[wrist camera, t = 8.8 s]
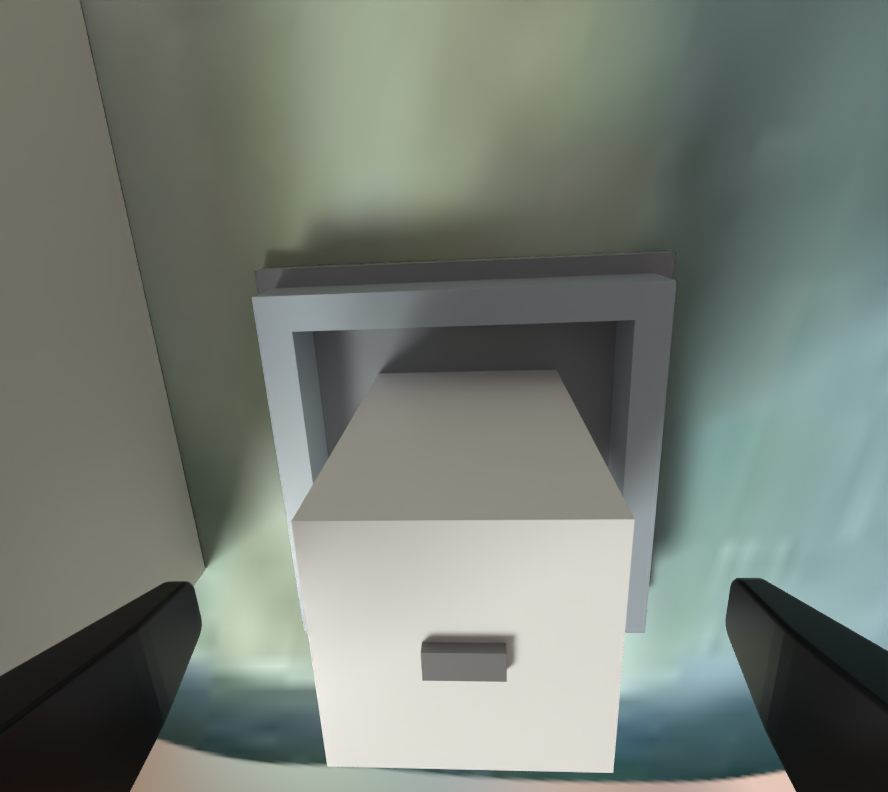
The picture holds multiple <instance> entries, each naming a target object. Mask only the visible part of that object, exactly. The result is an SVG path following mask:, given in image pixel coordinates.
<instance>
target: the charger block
mask: <svg viewBox="0 0 888 792" xmlns="http://www.w3.org/2000/svg"><path fill="white" fill-rule="evenodd" d="M634 521H635V519H634V517H633V515H632V513H631V511H630V509H629V508H628V506H627V504H626V502H625V500H624V498H623V496H622V494H621V492H620V490H619V488H618V487H617V485H616V483H615V481H614V479H613V477H612V475H611V473H610V471H609V469H608V467H607V466H606V464H605V462H604V460H603V458H602V456H601V454H600V452H599V450H598V448H597V446H596V445H595V443H594V441H593V439H592V437H591V435H590V433H589V431H588V429H587V427H586V425H585V424H584V422H583V420H582V418H581V416H580V414H579V412H578V410H577V408H576V406H575V404H574V403H573V401H572V399H571V397H570V395H569V393H568V391H567V389H566V387H565V385H564V383H563V382H562V380H561V378H560V376H559V374H558V372H557V370H556V369H554V370H509V371H465V372H420V373H378V375H377V377H376V379H375V380H374V382H373V384H372V385H371V387H370V389H369V390H368V392H367V394H366V395H365V397H364V399H363V401H362V402H361V404H360V406H359V407H358V409H357V411H356V412H355V414H354V416H353V417H352V419H351V421H350V423H349V424H348V426H347V428H346V429H345V431H344V433H343V434H342V436H341V438H340V440H339V441H338V443H337V445H336V446H335V448H334V450H333V451H332V453H331V455H330V456H329V458H328V460H327V462H326V463H325V465H324V467H323V468H322V470H321V472H320V473H319V475H318V477H317V478H316V480H315V482H314V484H313V485H312V487H311V489H310V490H309V492H308V494H307V495H306V497H305V499H304V501H303V502H302V504H301V506H300V507H299V509H298V511H297V512H296V514H295V516H294V517H293V519H292V521H291V523H292V530H293V536H294V543H295V550H296V557H297V564H298V570H299V577H300V584H301V591H302V597H303V604H304V611H305V618H306V624H307V631H308V638H309V645H310V652H311V658H312V665H313V672H314V679H315V685H316V692H317V699H318V706H319V713H320V719H321V726H322V733H323V740H324V746H325V753H326V760H327V766H337V767H381V768H424V769H468V770H512V771H556V772H600V773H613V768H614V756H615V744H616V733H617V721H618V709H619V697H620V686H621V674H622V662H623V650H624V639H625V627H626V615H627V603H628V592H629V580H630V568H631V556H632V545H633V533H634Z"/></svg>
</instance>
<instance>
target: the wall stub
mask: <svg viewBox="0 0 888 792" xmlns="http://www.w3.org/2000/svg"><path fill="white" fill-rule="evenodd" d="M204 571H205V566H204V561H203V557H202V552H201V548H200V543H199V539H198V534H197V530H196V525H195V521H194V516H193V512H192V507H191V502H190V498H189V493H188V489H187V484H186V480H185V475H184V471H183V466H182V462H181V457H180V453H179V448H178V444H177V439H176V434H175V430H174V425H173V421H172V416H171V412H170V407H169V403H168V398H167V394H166V389H165V385H164V380H163V376H162V371H161V366H160V362H159V357H158V353H157V348H156V344H155V339H154V335H153V330H152V326H151V321H150V317H149V312H148V308H147V303H146V298H145V294H144V289H143V285H142V280H141V276H140V271H139V267H138V262H137V258H136V253H135V249H134V244H133V240H132V235H131V230H130V226H129V221H128V217H127V212H126V208H125V203H124V199H123V194H122V190H121V185H120V181H119V176H118V172H117V167H116V162H115V158H114V153H113V149H112V144H111V140H110V135H109V131H108V126H107V122H106V117H105V113H104V108H103V104H102V99H101V94H100V90H99V85H98V81H97V76H96V72H95V67H94V63H93V58H92V54H91V49H90V45H89V40H88V36H87V31H86V26H85V22H84V17H83V13H82V8H81V4H80V0H0V676H1V675H3V674H4V673H6V672H8V671H10V670H11V669H13V668H15V667H17V666H18V665H20V664H22V663H24V662H25V661H27V660H29V659H31V658H32V657H34V656H36V655H38V654H39V653H41V652H43V651H45V650H46V649H48V648H50V647H52V646H53V645H55V644H57V643H59V642H61V641H62V640H64V639H66V638H68V637H69V636H71V635H73V634H75V633H76V632H78V631H80V630H82V629H83V628H85V627H87V626H89V625H90V624H92V623H94V622H96V621H97V620H99V619H101V618H103V617H104V616H106V615H108V614H110V613H111V612H113V611H115V610H117V609H118V608H120V607H122V606H124V605H125V604H127V603H129V602H131V601H132V600H134V599H136V598H138V597H139V596H141V595H143V594H145V593H146V592H148V591H150V590H152V589H153V588H155V587H157V586H159V585H160V584H162V583H164V582H167V581H188V582H190V583H191V584H192V585H193V586H194V585H195V583H196V582H197V581H198V579H199V578H200V577H201V575H202V574H203V573H204Z"/></svg>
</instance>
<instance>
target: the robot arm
mask: <svg viewBox="0 0 888 792" xmlns="http://www.w3.org/2000/svg"><path fill="white" fill-rule="evenodd" d="M201 627H202V620H201V615H200V611H199V606H198V602H197V598H196V594H195V589H194V586H193V585H192V584H191V583H190V582H188V581H167V582H164V583H162V584H160V585H159V586H157V587H155V588H153V589H152V590H150V591H148V592H146V593H145V594H143V595H141V596H139V597H138V598H136V599H134V600H132V601H131V602H129V603H127V604H125V605H124V606H122V607H120V608H118V609H117V610H115V611H113V612H111V613H110V614H108V615H106V616H104V617H103V618H101V619H99V620H97V621H96V622H94V623H92V624H90V625H89V626H87V627H85V628H83V629H82V630H80V631H78V632H76V633H75V634H73V635H71V636H69V637H68V638H66V639H64V640H62V641H61V642H59V643H57V644H55V645H53V646H52V647H50V648H48V649H46V650H45V651H43V652H41V653H39V654H38V655H36V656H34V657H32V658H31V659H29V660H27V661H25V662H24V663H22V664H20V665H18V666H17V667H15V668H13V669H11V670H10V671H8V672H6V673H4V674H3V675H1V676H0V792H130V790H131V788H132V787H133V785H134V782H135V781H136V779H137V777H138V775H139V773H140V771H141V769H142V767H143V765H144V763H145V761H146V759H147V757H148V755H149V753H150V751H151V749H152V747H153V745H154V743H155V741H156V739H157V737H158V735H159V733H160V731H161V729H162V727H163V725H164V723H165V721H166V718H167V716H168V714H169V711H170V709H171V707H172V704H173V702H174V699H175V696H176V694H177V691H178V689H179V686H180V684H181V681H182V679H183V676H184V674H185V671H186V669H187V666H188V664H189V661H190V659H191V656H192V654H193V651H194V649H195V646H196V644H197V641H198V638H199V636H200V632H201ZM726 630H727V634H728V637H729V639H730V642H731V644H732V647H733V650H734V652H735V655H736V657H737V660H738V662H739V665H740V668H741V670H742V673H743V675H744V678H745V680H746V683H747V686H748V688H749V691H750V693H751V696H752V698H753V701H754V704H755V706H756V709H757V711H758V714H759V716H760V719H761V721H762V723H763V726H764V728H765V730H766V733H767V735H768V737H769V739H770V741H771V743H772V745H773V747H774V749H775V751H776V753H777V755H778V757H779V759H780V761H781V763H782V765H783V767H784V769H785V771H786V773H787V775H788V777H789V779H790V781H791V783H792V784H793V786H794V788H795V790H796V792H888V651H887V650H885V649H883V648H882V647H880V646H878V645H876V644H875V643H873V642H871V641H870V640H868V639H866V638H864V637H863V636H861V635H859V634H857V633H856V632H854V631H852V630H850V629H849V628H847V627H845V626H844V625H842V624H840V623H838V622H837V621H835V620H833V619H831V618H830V617H828V616H826V615H824V614H823V613H821V612H819V611H817V610H816V609H814V608H812V607H811V606H809V605H807V604H805V603H804V602H802V601H800V600H798V599H797V598H795V597H793V596H791V595H790V594H788V593H786V592H785V591H783V590H781V589H779V588H778V587H776V586H774V585H772V584H771V583H769V582H767V581H765V580H763V579H761V578H736V579H735V580H733V582H732V583H731V587H730V593H729V600H728V607H727V614H726Z"/></svg>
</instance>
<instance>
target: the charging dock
mask: <svg viewBox="0 0 888 792" xmlns="http://www.w3.org/2000/svg"><path fill="white" fill-rule="evenodd" d="M675 253H676V252H671V251H656V252H632V253H609V254H585V255H561V256H537V257H514V258H490V259H466V260H442V261H419V262H395V263H371V264H347V265H324V266H300V267H276V268H260V269H257V270H254V271H255V277H256V284H257V290H258V295H256V296H253V297H251V298H252V304H253V310H254V317H255V323H256V329H257V336H258V342H259V348H260V355H261V361H262V367H263V374H264V380H265V386H266V393H267V399H268V405H269V412H270V418H271V424H272V431H273V437H274V443H275V450H276V456H277V462H278V469H279V475H280V481H281V487H282V494H283V500H284V506H285V513H286V519H287V525H288V532H289V538H290V544H291V551H292V557H293V563H294V570H295V576H296V582H297V589H298V595H299V601H300V608H301V614H302V620H303V627H304V632H308V631H307V624H306V618H305V611H304V604H303V597H302V591H301V584H300V577H299V570H298V564H297V557H296V550H295V543H294V536H293V530H292V523H291V521H292V519H293V517H294V516H295V514H296V512H297V511H298V509H299V507H300V506H301V504H302V502H303V501H304V499H305V497H306V495H307V494H308V492H309V490H310V489H311V487H312V485H313V484H314V482H315V480H316V478H317V477H318V475H319V473H320V472H321V470H322V468H323V467H324V465H325V463H326V462H327V460H328V458H329V456H330V455H331V453H332V451H333V450H334V448H335V446H336V445H337V443H338V441H339V440H340V438H341V436H342V434H343V433H344V431H345V429H346V428H347V426H348V424H349V423H350V421H351V419H352V417H353V416H354V414H355V412H356V411H357V409H358V407H359V406H360V404H361V402H362V401H363V399H364V397H365V395H366V394H367V392H368V390H369V389H370V387H371V385H372V384H373V382H374V380H375V379H376V377H377V375H378V373H420V372H465V371H509V370H554V369H556V370H557V372H558V374H559V376H560V378H561V380H562V382H563V383H564V385H565V387H566V389H567V391H568V393H569V395H570V397H571V399H572V401H573V403H574V404H575V406H576V408H577V410H578V412H579V414H580V416H581V418H582V420H583V422H584V424H585V425H586V427H587V429H588V431H589V433H590V435H591V437H592V439H593V441H594V443H595V445H596V446H597V448H598V450H599V452H600V454H601V456H602V458H603V460H604V462H605V464H606V466H607V467H608V469H609V471H610V473H611V475H612V477H613V479H614V481H615V483H616V485H617V487H618V488H619V490H620V492H621V494H622V496H623V498H624V500H625V502H626V504H627V506H628V508H629V509H630V511H631V513H632V515H633V517H634V519H635V521H634V533H633V545H632V556H631V568H630V580H629V592H628V603H627V615H626V627H625V633H645V624H646V613H647V602H648V591H649V581H650V570H651V559H652V548H653V537H654V526H655V515H656V504H657V493H658V482H659V471H660V460H661V449H662V438H663V427H664V416H665V405H666V394H667V383H668V372H669V361H670V350H671V339H672V328H673V317H674V306H675V295H676V284H677V281H676V280H673V275H674V264H675Z"/></svg>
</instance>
